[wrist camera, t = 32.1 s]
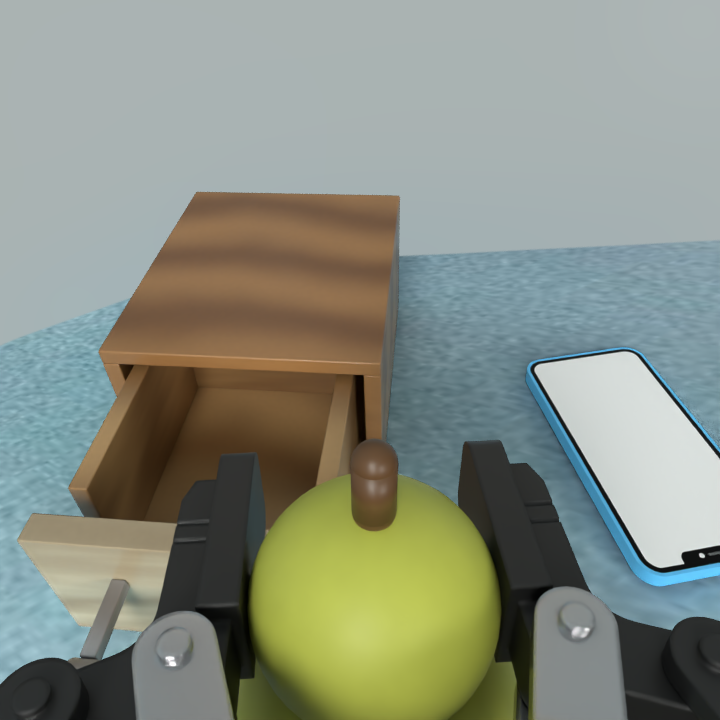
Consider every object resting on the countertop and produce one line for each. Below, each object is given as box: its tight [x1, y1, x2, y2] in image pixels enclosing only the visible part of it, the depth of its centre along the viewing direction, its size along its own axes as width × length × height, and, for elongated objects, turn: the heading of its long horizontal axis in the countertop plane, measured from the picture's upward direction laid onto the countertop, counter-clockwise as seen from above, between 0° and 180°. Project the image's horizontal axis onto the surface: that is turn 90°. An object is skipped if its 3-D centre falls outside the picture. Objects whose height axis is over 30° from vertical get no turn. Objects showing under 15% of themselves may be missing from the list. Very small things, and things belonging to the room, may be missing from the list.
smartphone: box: [526, 347, 720, 586], centre depth 34 cm, size 8×1×15 cm
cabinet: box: [99, 192, 400, 443], centre depth 37 cm, size 16×13×9 cm
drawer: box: [17, 365, 365, 669], centre depth 28 cm, size 19×12×7 cm, turn 174°
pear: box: [237, 439, 517, 720], centre depth 12 cm, size 6×6×10 cm
